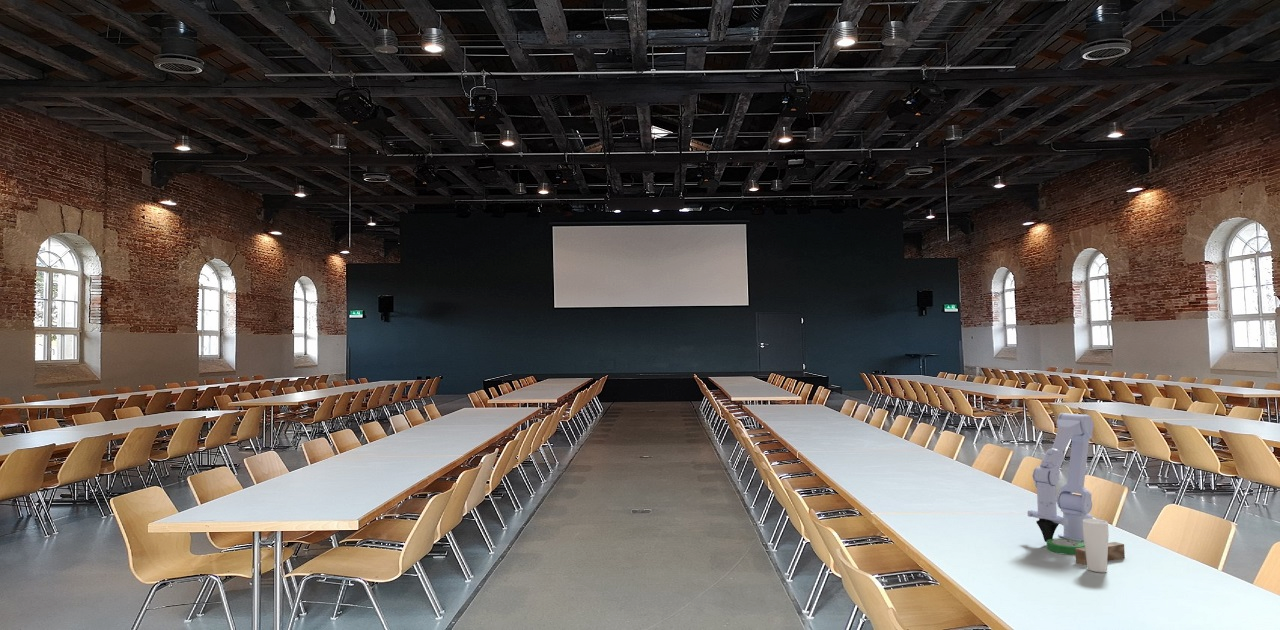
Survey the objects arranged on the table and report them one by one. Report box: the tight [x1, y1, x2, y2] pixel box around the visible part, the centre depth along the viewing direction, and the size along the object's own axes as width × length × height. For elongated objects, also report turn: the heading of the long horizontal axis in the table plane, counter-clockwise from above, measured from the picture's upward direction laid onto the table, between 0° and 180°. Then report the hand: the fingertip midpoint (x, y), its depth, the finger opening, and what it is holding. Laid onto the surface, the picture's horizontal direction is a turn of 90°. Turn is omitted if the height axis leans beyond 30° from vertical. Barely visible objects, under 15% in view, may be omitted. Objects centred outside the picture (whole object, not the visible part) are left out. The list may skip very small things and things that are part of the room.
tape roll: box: [1046, 537, 1085, 556], centre depth 244 cm, size 11×11×3 cm
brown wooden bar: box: [1074, 541, 1126, 566], centre depth 232 cm, size 18×3×4 cm, turn 110°
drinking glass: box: [1083, 518, 1110, 573], centre depth 223 cm, size 7×7×15 cm
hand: (1048, 541), depth 250 cm, fingers closed
